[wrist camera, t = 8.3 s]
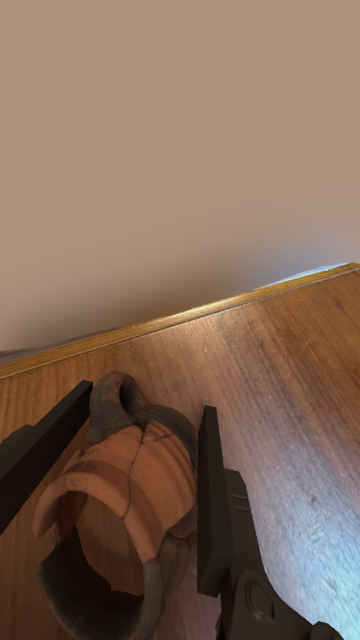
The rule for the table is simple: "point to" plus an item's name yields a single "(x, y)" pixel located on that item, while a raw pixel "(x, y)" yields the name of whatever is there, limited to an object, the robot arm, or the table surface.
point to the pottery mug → (120, 513)
